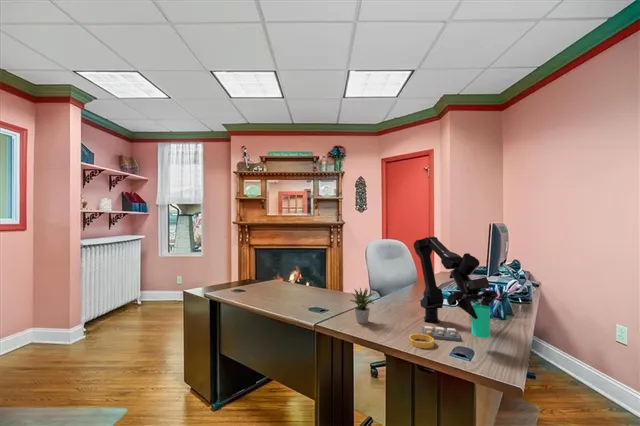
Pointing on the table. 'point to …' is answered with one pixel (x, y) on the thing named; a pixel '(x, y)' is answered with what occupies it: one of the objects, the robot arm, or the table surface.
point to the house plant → (362, 306)
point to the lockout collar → (421, 344)
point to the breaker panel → (441, 333)
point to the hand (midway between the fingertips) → (483, 318)
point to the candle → (481, 321)
